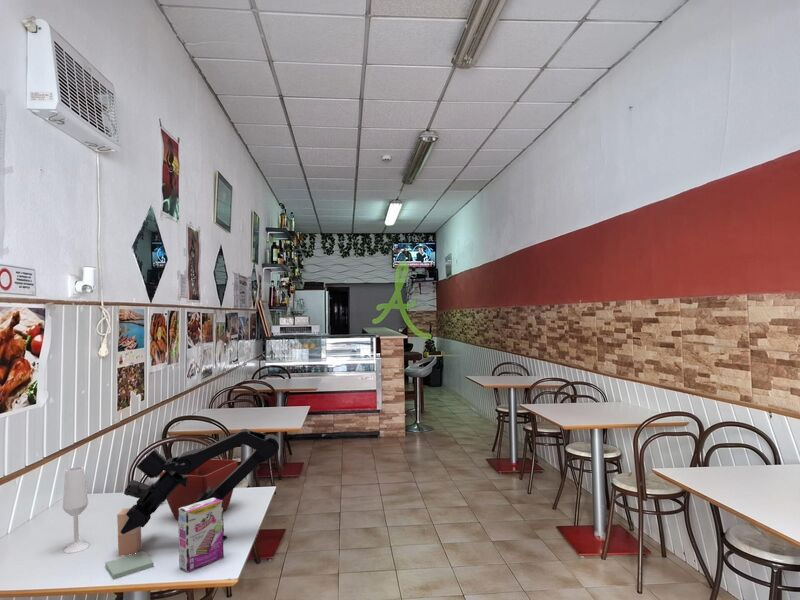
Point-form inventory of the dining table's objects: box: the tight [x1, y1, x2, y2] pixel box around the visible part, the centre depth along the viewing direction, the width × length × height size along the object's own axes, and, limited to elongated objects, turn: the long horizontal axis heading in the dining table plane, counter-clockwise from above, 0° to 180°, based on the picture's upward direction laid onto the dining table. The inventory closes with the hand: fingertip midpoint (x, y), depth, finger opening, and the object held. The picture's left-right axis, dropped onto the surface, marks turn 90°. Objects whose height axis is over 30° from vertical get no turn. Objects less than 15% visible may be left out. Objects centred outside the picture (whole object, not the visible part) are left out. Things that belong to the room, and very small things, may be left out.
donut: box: [145, 476, 160, 486], centre depth 201 cm, size 10×4×10 cm, turn 53°
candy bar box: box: [178, 498, 224, 573], centre depth 149 cm, size 11×5×16 cm, turn 141°
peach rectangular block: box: [116, 507, 142, 557], centre depth 159 cm, size 5×5×12 cm
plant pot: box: [159, 458, 239, 521], centre depth 187 cm, size 19×19×17 cm
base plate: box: [104, 551, 155, 580], centre depth 148 cm, size 10×10×1 cm
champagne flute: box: [62, 466, 90, 554], centre depth 163 cm, size 7×7×24 cm
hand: (124, 529), depth 159 cm, fingers closed on peach rectangular block, 5 cm apart
